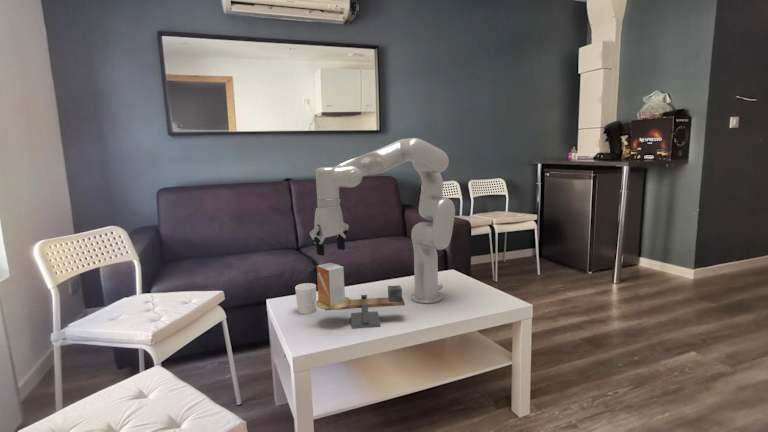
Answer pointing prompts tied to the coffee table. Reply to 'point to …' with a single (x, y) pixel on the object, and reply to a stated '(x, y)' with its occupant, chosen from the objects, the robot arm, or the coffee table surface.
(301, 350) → the coffee table surface
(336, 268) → the small box
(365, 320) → the beam stand
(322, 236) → the robot arm
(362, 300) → the beam
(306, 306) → the white cup
